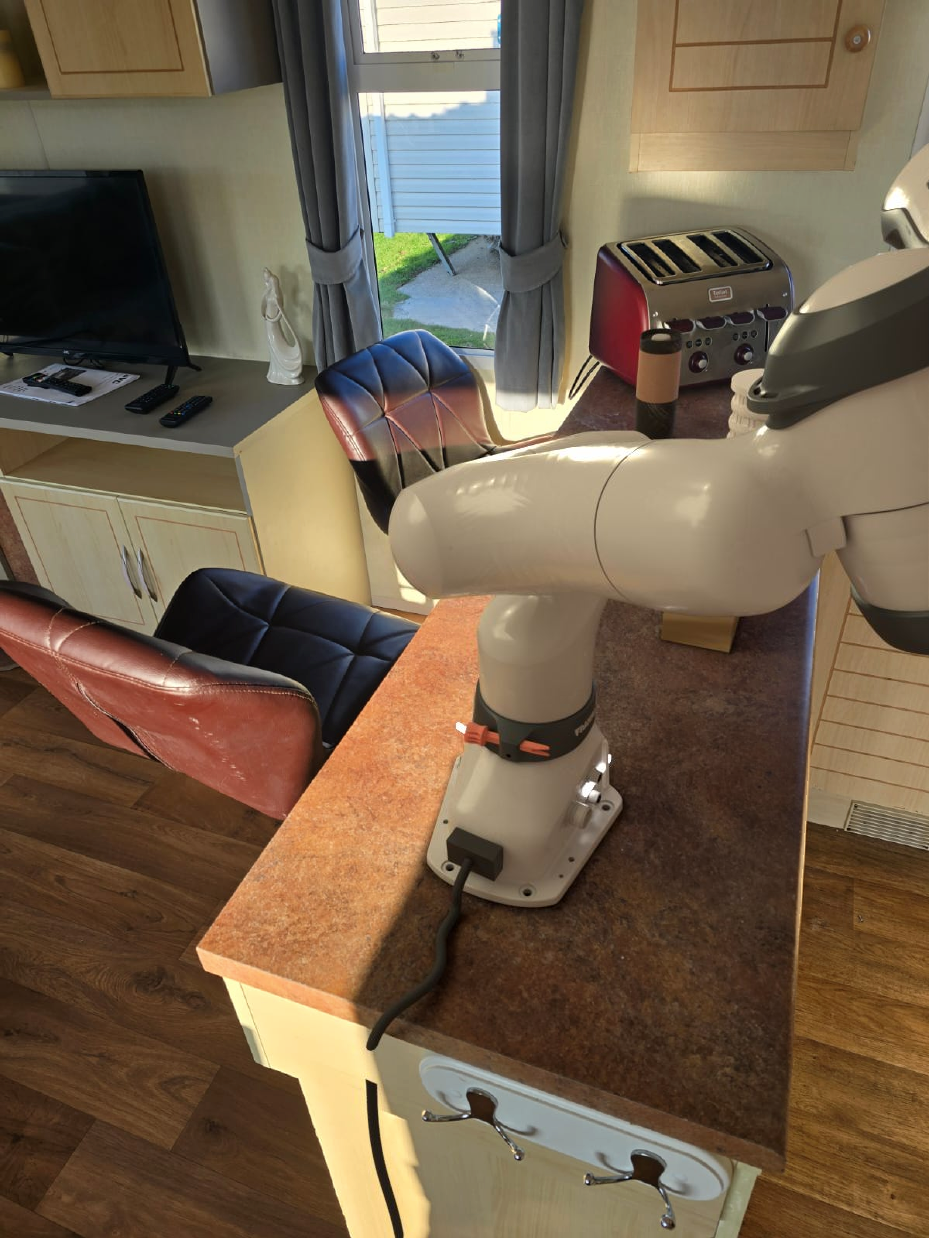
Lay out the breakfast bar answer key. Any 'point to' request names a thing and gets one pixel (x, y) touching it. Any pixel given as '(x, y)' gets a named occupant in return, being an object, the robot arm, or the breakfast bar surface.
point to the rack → (700, 630)
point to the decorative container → (744, 404)
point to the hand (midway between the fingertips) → (875, 379)
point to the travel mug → (658, 382)
